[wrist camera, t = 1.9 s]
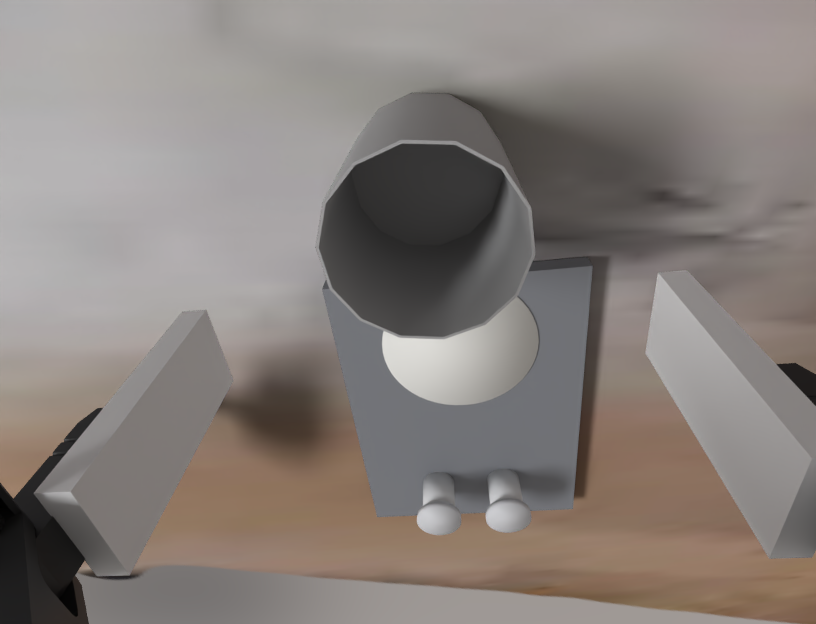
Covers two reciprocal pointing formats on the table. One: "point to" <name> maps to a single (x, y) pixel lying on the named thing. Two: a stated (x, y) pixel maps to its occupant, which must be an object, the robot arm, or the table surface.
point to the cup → (426, 221)
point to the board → (473, 406)
